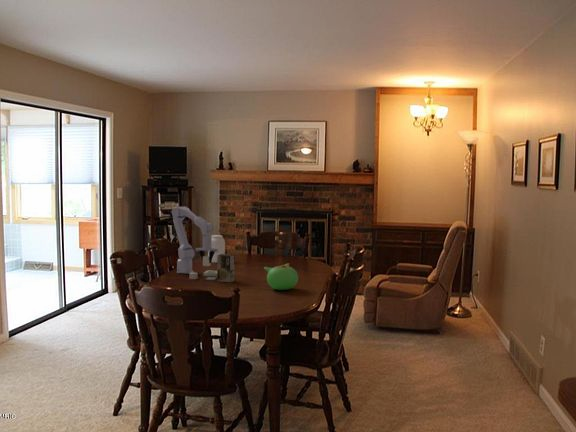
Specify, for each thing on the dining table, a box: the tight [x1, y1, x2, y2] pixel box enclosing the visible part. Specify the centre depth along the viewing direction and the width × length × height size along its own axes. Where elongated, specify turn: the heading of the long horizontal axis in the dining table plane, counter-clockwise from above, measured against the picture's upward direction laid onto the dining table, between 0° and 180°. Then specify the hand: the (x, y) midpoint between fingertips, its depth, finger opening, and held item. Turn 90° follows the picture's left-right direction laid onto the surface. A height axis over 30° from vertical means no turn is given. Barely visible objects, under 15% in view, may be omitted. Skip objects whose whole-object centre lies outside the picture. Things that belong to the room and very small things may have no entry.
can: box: [207, 234, 226, 264], centre depth 382 cm, size 12×12×20 cm
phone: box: [204, 276, 217, 282], centre depth 314 cm, size 6×8×1 cm
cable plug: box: [188, 272, 199, 280], centre depth 315 cm, size 5×4×4 cm
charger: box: [202, 255, 212, 267], centre depth 324 cm, size 4×4×6 cm
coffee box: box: [216, 253, 235, 283], centre depth 309 cm, size 9×6×16 cm
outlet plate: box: [202, 270, 217, 277], centre depth 328 cm, size 12×9×2 cm
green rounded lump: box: [263, 262, 299, 291], centre depth 289 cm, size 18×17×15 cm
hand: (206, 262), depth 325 cm, fingers closed on charger, 4 cm apart
